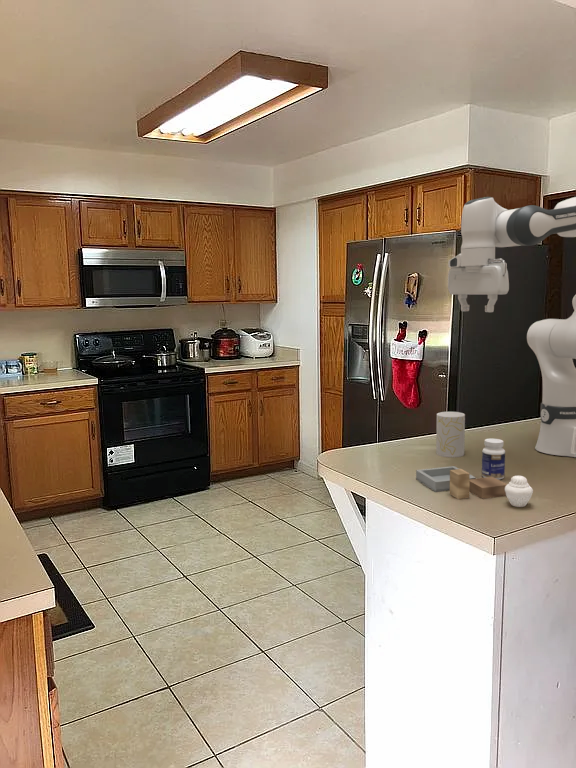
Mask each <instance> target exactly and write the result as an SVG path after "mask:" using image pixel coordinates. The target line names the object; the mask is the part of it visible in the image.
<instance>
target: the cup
mask: <svg viewBox="0 0 576 768" xmlns="http://www.w3.org/2000/svg"><path fill="white" fill-rule="evenodd" d="M465 423H466V414H465V413H463V412H460V411H441V412H438V413H436V439H435V440H436V445H435V446H436V449H435V450H436V452H435V453H436V455H437V456H439V457H443V458H460V457H463V456H465V444H466V443H465V437H466V436H465V435H466V430H465V427H466V424H465Z"/></svg>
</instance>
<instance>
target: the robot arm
mask: <svg viewBox="0 0 576 768" xmlns="http://www.w3.org/2000/svg"><path fill="white" fill-rule="evenodd" d="M460 226H461V227H460V233H461V238H462V241H461V247H460V253H458V254H457V255H456V256H454V257H453V258H451V259H448V261H447V262H448V263H447V265H448V266H447V267H448V268H450V269H449V270H448V273H447V274H448V275H447V290H448V293H449V295H457V299H458V302H459V304H460V311H461V312H469V311H470V304H468V301H467V299H468V295H469V296H470V295H472V296H473V295H487V300H488V302H487V305H484V312H485V313H494V310H495V305H496V302H497V301H498V295H507V294H508V292H509V290H510V282H509V271H508V268H507V267H508V266H507V262H506V261H505V260H504V259H503V258H501V257H500V258H496V248H507V247H519V246H521V247H522V246H527V247H529V246H535V245H538V244H540V243H541V242H543V241H544V240H545V239H546V238H548V237H549V236H551V235H554V234H557V235H558V236H560V237H562V238H576V196H574V197H571V198H567V199H565V200H564V199H563V200H562V201H560V202H557V204H556V205H555V206H554V208H553V209H547V208H544V207H541V206H539V205H535V204H534V205H533V204H531V205H526V206H522V207H517V208H514V209H507V208H504V207H502V205H499V203H497V202H496V201H495V199H494V197H493V196H492V197H491V196H484V197H479V198H474V199H471V200H470V199H469V200H468V201H466V202H465V203H464V206H463V208H462V212H461V224H460ZM571 300H572V301H571V302H572V303H571V304H572V307H573V310H574V311H573V312H572V314H571V315H570V316H569V317H568V318H565V319H563V318H562V319H561V318H560V319H559V318H545V319H542V320H537V321H535V322H534V323H532V324H531V325H530V326H529V328H528V330H527V333H526V342H527V345H528V346H529V348H530V349H531V350H532V351H533V353H534V354H535V356H536V359H537V361H538V364H539V368H540V371H541V377H542V378H541V379H542V401H541V402H540V411H539V414H540V425H539V426H540V427H539V428H540V429H539V433H538V437H537V442H536V443H535V447H534V449H535V450H536V451H537V452H540V453H544V454H547V455H552V456H553V455H555V456H562V457H571V458H576V367H575V364H574V359H575V360H576V294H575V295H574V296H573V298H572V299H571Z"/></svg>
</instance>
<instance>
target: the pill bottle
mask: <svg viewBox="0 0 576 768" xmlns="http://www.w3.org/2000/svg"><path fill="white" fill-rule="evenodd" d="M483 443H484V446H485V447H483V449H482V451H481V454H482V455H481V476H482V477H481V478H486V477H494V478H496V479H498V480H500V481H501V480H503V479H504V478H505V472H506V471H505V470H506V450H505V449H504V448H503V447H504V440H502V439H500V438H492V437H491V438H485V439H484V442H483Z"/></svg>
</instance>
